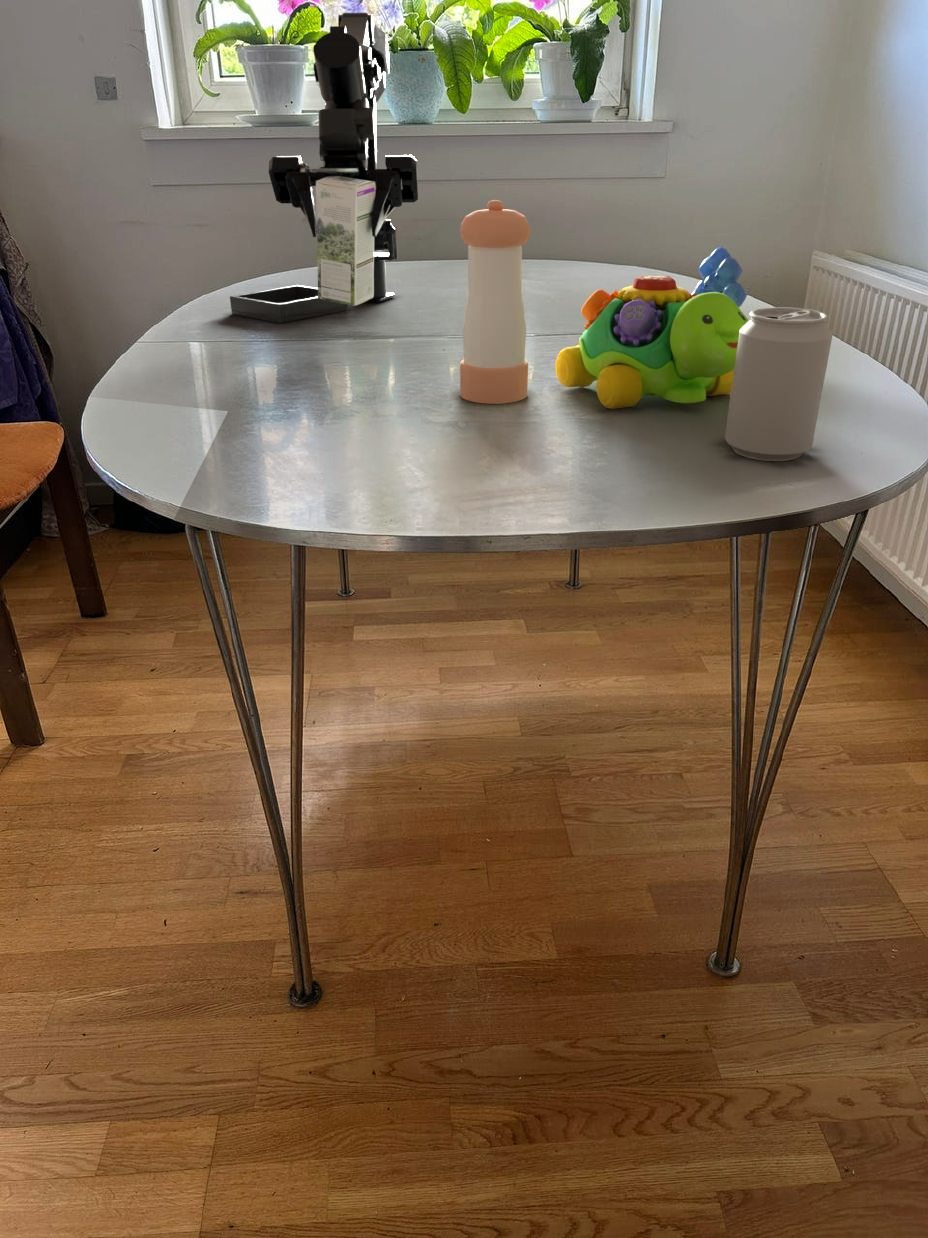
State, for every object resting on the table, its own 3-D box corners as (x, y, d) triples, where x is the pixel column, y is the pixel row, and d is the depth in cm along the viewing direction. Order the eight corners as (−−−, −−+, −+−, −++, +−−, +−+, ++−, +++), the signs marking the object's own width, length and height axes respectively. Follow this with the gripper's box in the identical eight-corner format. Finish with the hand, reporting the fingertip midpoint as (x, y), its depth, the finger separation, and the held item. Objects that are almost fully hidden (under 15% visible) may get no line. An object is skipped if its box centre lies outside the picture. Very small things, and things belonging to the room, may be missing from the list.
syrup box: (375, 297, 123) (377, 179, 115) (354, 307, 119) (355, 185, 111) (337, 290, 125) (337, 173, 117) (315, 299, 120) (314, 178, 112)
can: (712, 439, 85) (729, 304, 79) (790, 436, 85) (813, 302, 80) (740, 466, 78) (761, 321, 72) (825, 462, 79) (853, 318, 73)
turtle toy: (654, 437, 85) (666, 306, 80) (538, 379, 104) (542, 270, 98) (797, 415, 91) (818, 292, 86) (663, 364, 110) (673, 260, 104)
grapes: (665, 340, 122) (674, 243, 116) (712, 337, 123) (724, 242, 117) (699, 359, 112) (711, 255, 106) (751, 357, 113) (765, 253, 107)
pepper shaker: (454, 402, 96) (452, 203, 87) (465, 385, 102) (464, 197, 93) (523, 405, 95) (528, 203, 86) (530, 387, 101) (536, 197, 92)
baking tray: (298, 301, 150) (297, 284, 148) (348, 309, 143) (347, 292, 142) (231, 313, 140) (229, 296, 139) (281, 323, 134) (279, 304, 133)
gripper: (262, 82, 112) (256, 189, 108) (414, 81, 112) (414, 188, 108) (279, 151, 123) (274, 251, 119) (418, 150, 123) (418, 249, 119)
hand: (343, 234), depth 116 cm, fingers closed on syrup box, 7 cm apart
